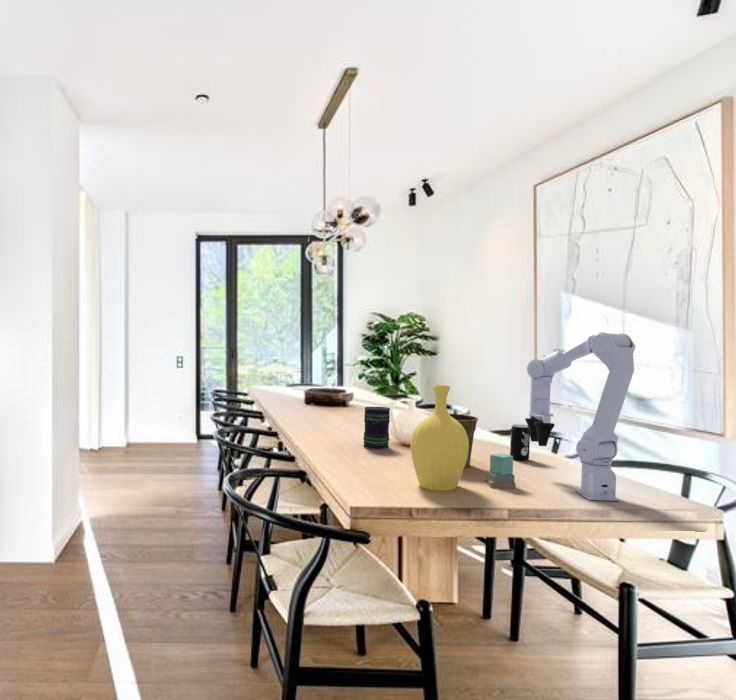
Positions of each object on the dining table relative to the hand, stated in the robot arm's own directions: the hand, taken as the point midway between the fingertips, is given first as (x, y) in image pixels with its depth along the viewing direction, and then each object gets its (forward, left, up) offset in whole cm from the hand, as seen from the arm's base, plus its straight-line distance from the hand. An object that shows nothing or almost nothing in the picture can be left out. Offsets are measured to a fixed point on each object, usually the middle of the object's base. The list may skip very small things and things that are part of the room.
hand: (538, 443), depth 161 cm
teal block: (-10, +14, -7) cm, 18 cm away
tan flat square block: (-10, +14, -11) cm, 20 cm away
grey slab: (-10, +14, -9) cm, 19 cm away
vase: (-14, +32, -11) cm, 37 cm away
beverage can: (+27, -2, -11) cm, 29 cm away
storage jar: (+41, +49, -11) cm, 65 cm away
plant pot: (+14, +24, -11) cm, 30 cm away
